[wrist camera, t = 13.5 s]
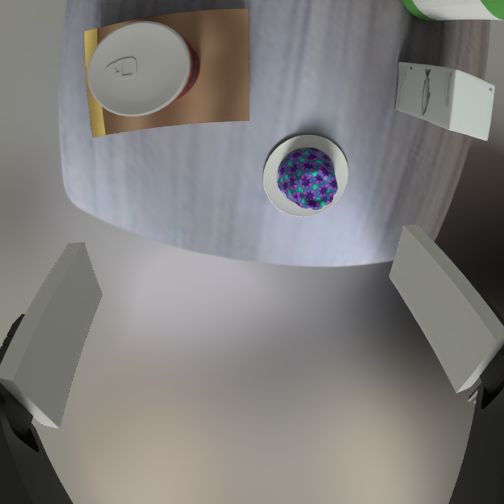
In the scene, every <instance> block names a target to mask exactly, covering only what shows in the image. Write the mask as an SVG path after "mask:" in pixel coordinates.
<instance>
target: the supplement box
mask: <svg viewBox="0 0 504 504" xmlns="http://www.w3.org/2000/svg"><path fill="white" fill-rule="evenodd" d="M494 90H495V85H494V84H492V83H490V82H487V81H485V80H483V79H480V78H478V77H475V76H473V75H470V74H468V73H465V72H462V71H460V70H457V69H453V68H447V67H440V66H434V65H426V64H417V63H407V62H399V71H398V87H397V97H396V104H395V109H396V110H399V111H402V112H405V113H408V114H411V115H413V116H416V117H419V118H422V119H424V120H427V121H429V122H431V123H434V124H436V125H439V126H441V127H443V128H445V129H448V130H451V131H455V132H459V133H462V134H466V135H469V136H472V137H476V138H479V139H482V140H485V141H487V139H488V135H489V129H490V122H491V116H492V108H493V99H494Z"/></svg>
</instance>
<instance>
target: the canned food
mask: <svg viewBox="0 0 504 504" xmlns="http://www.w3.org/2000/svg"><path fill="white" fill-rule="evenodd" d="M200 67H201V66H200V59H199V56H198V53H197V51H196V50H195V48H194V47H193V46H192V45H191V44H190V43H189V42H188V41H187V40H186V39H185V38H184V37H183V36H182V35H180V34H179V33H178V32H177V31H175V30H174V29H172V28H170V27H169V26H167V25H164V24H161V23H157V22H150V21H139V22H133V23H129V24H126V25H123V26H121V27H119V28H117V29H115V30H114V31H112V32H111V33H109V34H108V35H107V36H106V37H105V38H104V39H103V40H102V41H101V42H100V43H99V44H98V46H97V47H96V48H95V50H94V52H93V54H92V56H91V58H90V62H89V65H88V74H87V78H88V85H89V88H90V91H91V93H92V95H93V96H94V98H95V100H96V101H97V102H98V103H99V104H100V105H101V106H102V107H103V108H105V109H106V110H108V111H110V112H112V113H115V114H117V115H122V116H142V115H148V114H151V113H154V112H156V111H159V110H161V109H163V108H164V107H166V106H168V105H170V104H171V103H173V102H174V101H176V100H177V99H179V98H181V97H182V96H184V95H185V94H186V93H187V92H189V91H190V89H191V88H192V87H193V86H194V85H195V83H196V81H197V79H198V76H199V74H200Z"/></svg>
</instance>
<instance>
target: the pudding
mask: <svg viewBox="0 0 504 504" xmlns="http://www.w3.org/2000/svg"><path fill="white" fill-rule="evenodd" d="M303 147H312V148H308V149H306V150H305V151H304V152H303V151H300V150H296V149H299V148H303ZM314 148H316V149H319V150H321V151H323V152H324V153H326V154H327V155H328V156H329V157H327V156H326V155H320V153H319V151H318V150H316V149H314ZM294 150H296V151H294ZM292 151H293V152H292ZM290 152H292V153H290ZM289 153H290V154H289ZM287 154H289V156H288V159H287V161H284V162H282V163H281V161H282V160H283V158H284V157H285V156H286V155H287ZM330 159H331V160H330ZM331 161H332V162H333V165H334V168H335V172H334V169H333V165H332V162H331ZM280 163H281V164H280ZM279 164H280V166H279ZM278 166H279V168H278ZM277 169H278V173H279V175H280V178H279V180H278V185H277V181H276V174H277ZM347 181H348V165H347V162H346V159H345V157H344V155H343V153H342V151H341V150H340V149H339V148H338V147H337V146H336V145H335V144H334V143H333V142H331V141H330V140H328V139H326V138H323V137H320V136H316V135H301V136H297V137H293V138H291V139H289V140H287V141H285V142H284V143H282V144H280V145H279V146H278V147H277V148H276V149H275V150H274V151H273V153H272V154H271V155H270V157H269V159H268V161H267V163H266V165H265V169H264V174H263V183H264V189H265V192H266V194H267V196H268V198H269V200H270V201H271V202H272V204H273V205H274V206H275V207H276V208H278V209H279V210H281V211H282V212H284V213H286V214H289V215H292V216H297V217H309V216H314V215H317V214H320V213H322V212H324V211H326V210H328V209H329V208H331V207H332V206H333V205H334V204H335V203H336V202H337V201H338V200H339V199H340V197H341V196H342V194H343V192H344V190H345V188H346V185H347ZM278 187H279V188H278ZM279 189H280V190H281V191H282V192H284V193H285V194H286V196H287V198H288V199H289V200H288V199H287V198H286V197H285V196H283V194H282V193H281V192H280V190H279Z"/></svg>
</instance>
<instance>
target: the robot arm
mask: <svg viewBox="0 0 504 504" xmlns="http://www.w3.org/2000/svg"><path fill="white" fill-rule="evenodd" d="M389 278H390V279H391V281H392V282H393V284H394V285H395V287H396V288H397V290H398V291H399V293H400V294H401V296H402V298H403V299H404V301H405V303H406V304H407V306H408V307H409V309H410V311H411V312H412V314H413V316H414V317H415V319H416V320H417V322H418V324H419V325H420V327H421V329H422V331H423V332H424V334H425V336H426V337H427V339H428V341H429V343H430V345H431V346H432V348H433V349H434V352H435V353H436V355H437V357H438V359H439V360H440V363H441V364H442V366H443V368H444V370H445V372H446V374H447V376H448V378H449V379H450V382H451V383H452V385H453V387H454V389H455V391H456V393H458V392H460V391H462V390H465V389H467V388H469V387H471V386H472V385H473V384H474V382H475V381H476V380H477V379H478V378H479V377H480V379H481V381H482V383H481V384H480V385H479V386H478V387H477V389H476V390H475V391H474V392H473V393H472V394H471V395H470V396H469V399H468V401H471V400H472V399H473V398H474V397H475V396H476V395H477V398H476V399H475V401H474V402H473V403H475V404H476V405H475V411H474V416H473V421H472V426H471V431H470V435H469V439H468V443H467V448H466V452H465V455H464V459H463V463H462V466H461V469H460V472H459V476H458V479H457V482H456V485H455V488H454V491H453V493H452V496H451V499H450V501H449V504H504V319H503V318H502V317H501V315H500V314H499V313H498V311H497V310H495V307H494V306H493V305H492V303H491V302H490V303H489V300H488V298H487V297H486V296H485V295H484V293H483V292H482V291H481V290H480V289H478V288H477V287H475V286H474V285H473V284H471V283H470V282H469V281H468V280H467V279H466V278H465V276H464V275H463V274H462V273H461V272H460V271H459V269H458V268H457V267H456V266H455V265H454V264H453V262H452V261H451V260H450V259H449V258H448V257H447V256H446V255H445V254H444V252H443V251H442V250H441V249H440V248H439V247H438V246H437V245H436V244H435V243H434V242H433V241H432V240H431V239H430V238H429V236H428V235H427V234H426V233H425V232H424V231H423V230H422V229H421V228H420V227H419V226H418V225H403V229H402V233H401V237H400V240H399V244H398V248H397V251H396V255H395V258H394V262H393V265H392V269H391V272H390V275H389ZM101 297H102V292H101V289H100V287H99V284H98V281H97V279H96V276H95V273H94V270H93V267H92V265H91V262H90V259H89V256H88V253H87V250H86V247H85V243H84V242H81V243H69V244H68V245H67V247H66V249H65V250H64V252H63V253H62V254H61V256H60V257H59V259H58V260H57V262H56V263H55V265H54V267H53V268H52V270H51V271H50V273H49V274H48V276H47V278H46V280H45V281H44V283H43V284H42V286H41V287H40V289H39V291H38V293H37V294H36V296H35V298H34V300H33V301H32V303H31V305H30V306H29V308H28V310H27V312H26V314H22V315H21V316H20V317H19V318H18V319H17V320H16V321H15V322H14V323H13V324H12V326H11V328H10V330H9V332H8V334H7V337H6V338H5V340H4V342H3V346H1V348H0V504H73V503H72V501H71V499H70V498H69V496H68V494H67V493H66V491H65V489H64V487H63V485H62V483H61V482H60V480H59V478H58V476H57V474H56V472H55V470H54V468H53V466H52V464H51V462H50V460H49V458H48V456H47V454H46V452H45V449H44V447H43V445H42V443H41V440H40V438H39V436H38V433H37V431H36V429H35V427H34V426H33V424H32V423H31V422H32V419H33V417H34V418H36V419H37V420H38V421H39V422H40V423H41V424H42V425H46V426H50V427H54V428H60V426H61V422H62V417H63V414H64V409H65V406H66V402H67V398H68V394H69V391H70V388H71V384H72V381H73V377H74V374H75V371H76V367H77V364H78V361H79V358H80V355H81V352H82V349H83V346H84V343H85V340H86V337H87V335H88V332H89V329H90V326H91V323H92V321H93V318H94V315H95V313H96V310H97V308H98V305H99V302H100V300H101Z"/></svg>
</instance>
